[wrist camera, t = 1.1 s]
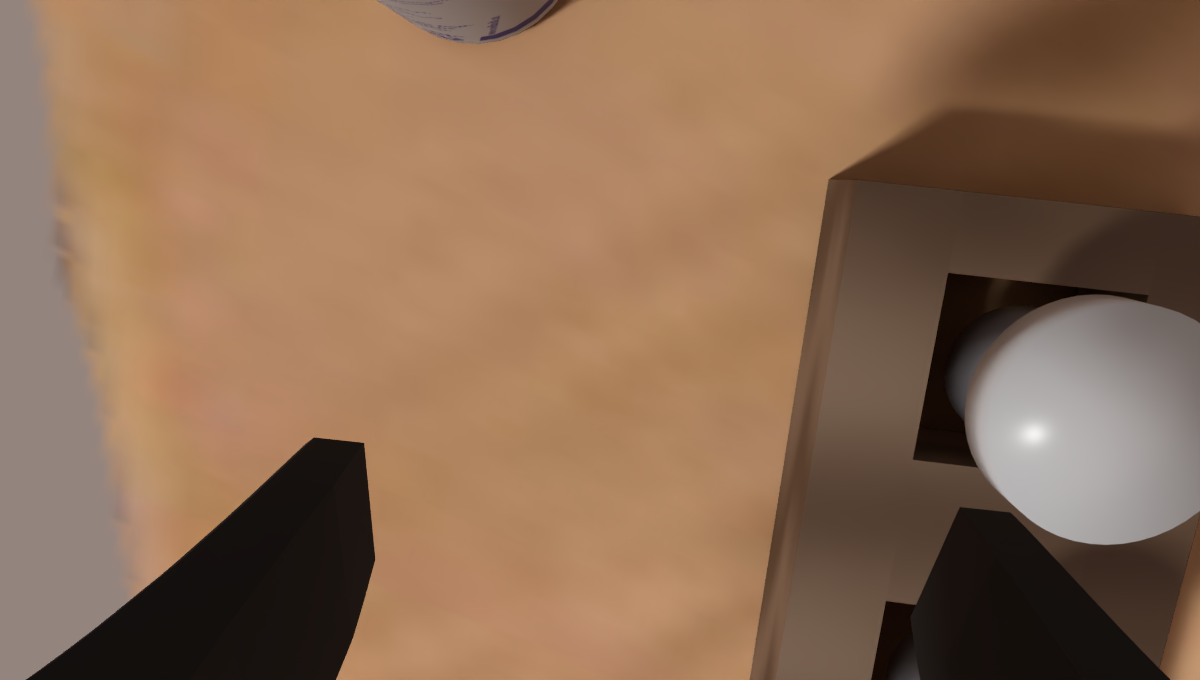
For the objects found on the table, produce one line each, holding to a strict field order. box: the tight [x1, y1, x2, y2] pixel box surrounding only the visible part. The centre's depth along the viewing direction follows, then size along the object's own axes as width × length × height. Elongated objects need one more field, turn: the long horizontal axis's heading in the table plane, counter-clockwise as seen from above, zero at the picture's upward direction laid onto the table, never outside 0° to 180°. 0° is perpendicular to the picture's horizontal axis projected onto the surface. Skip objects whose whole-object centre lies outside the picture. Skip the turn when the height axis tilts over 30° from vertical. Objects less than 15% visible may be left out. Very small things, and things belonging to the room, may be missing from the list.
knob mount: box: [750, 179, 1200, 680], centre depth 21 cm, size 16×9×3 cm, turn 174°
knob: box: [945, 294, 1200, 545], centre depth 18 cm, size 5×5×4 cm
